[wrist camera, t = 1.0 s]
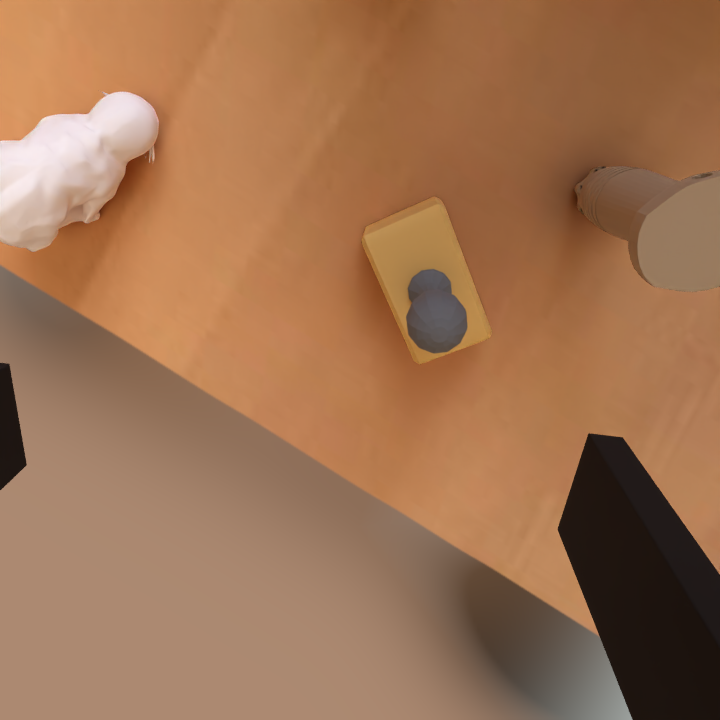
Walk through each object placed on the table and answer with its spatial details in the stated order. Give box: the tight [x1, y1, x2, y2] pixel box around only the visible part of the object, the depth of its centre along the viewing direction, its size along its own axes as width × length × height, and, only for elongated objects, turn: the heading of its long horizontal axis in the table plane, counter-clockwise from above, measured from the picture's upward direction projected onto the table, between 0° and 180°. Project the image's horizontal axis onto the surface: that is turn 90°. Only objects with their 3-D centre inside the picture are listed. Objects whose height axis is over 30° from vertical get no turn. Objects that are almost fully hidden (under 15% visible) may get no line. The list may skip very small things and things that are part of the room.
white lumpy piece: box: [0, 90, 159, 252], centre depth 35 cm, size 6×8×12 cm
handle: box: [574, 166, 720, 292], centre depth 31 cm, size 5×6×15 cm
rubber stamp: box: [361, 196, 492, 364], centre depth 35 cm, size 10×6×12 cm, turn 24°
